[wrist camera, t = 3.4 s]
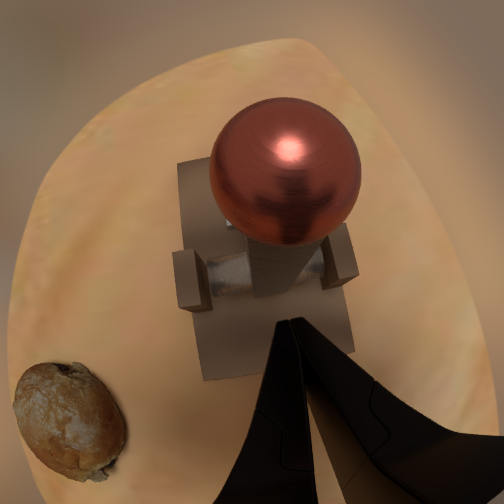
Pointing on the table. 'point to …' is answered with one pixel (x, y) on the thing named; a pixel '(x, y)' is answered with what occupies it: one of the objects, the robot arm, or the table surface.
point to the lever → (280, 193)
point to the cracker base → (244, 304)
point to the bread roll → (68, 420)
